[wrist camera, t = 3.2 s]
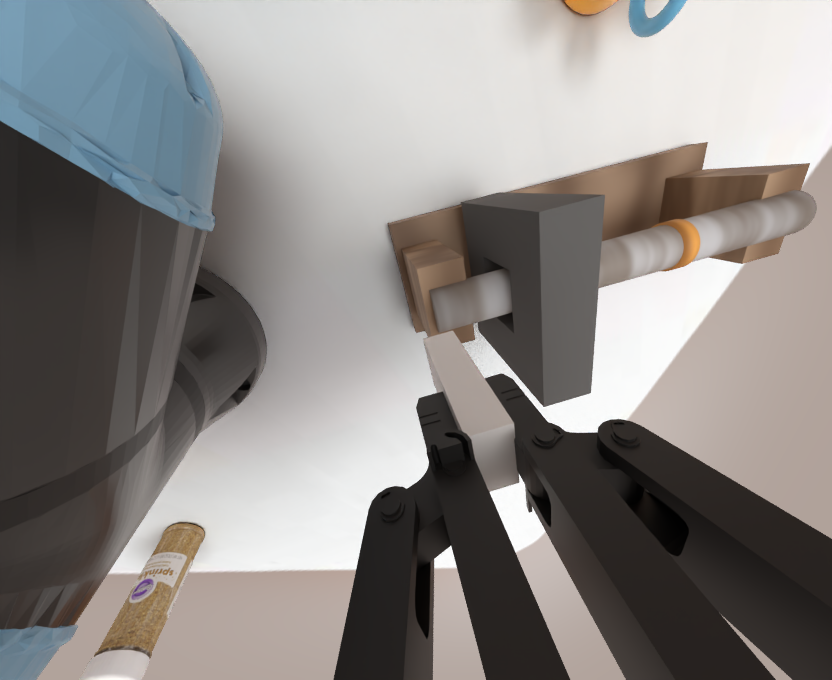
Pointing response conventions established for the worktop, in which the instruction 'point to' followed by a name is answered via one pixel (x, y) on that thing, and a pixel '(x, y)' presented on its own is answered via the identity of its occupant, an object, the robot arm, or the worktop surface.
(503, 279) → the pipe stand
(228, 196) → the worktop surface
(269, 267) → the worktop surface
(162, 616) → the sprinkles bottle
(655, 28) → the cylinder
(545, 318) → the collar
